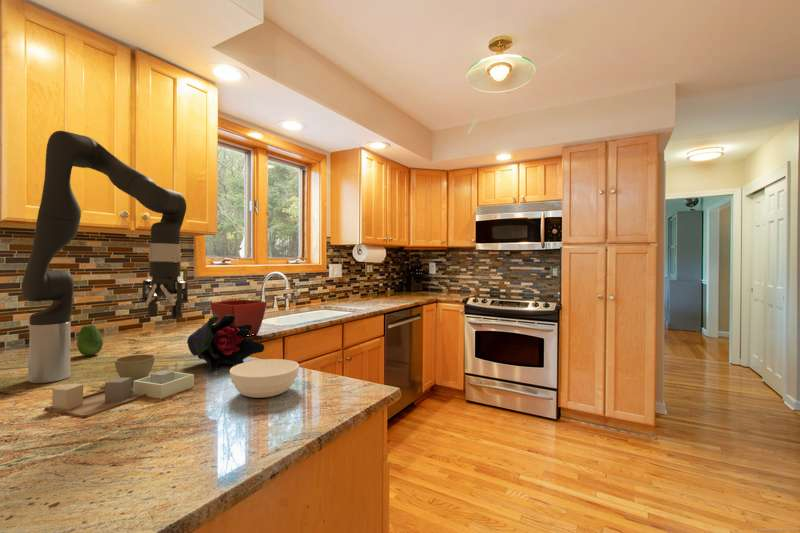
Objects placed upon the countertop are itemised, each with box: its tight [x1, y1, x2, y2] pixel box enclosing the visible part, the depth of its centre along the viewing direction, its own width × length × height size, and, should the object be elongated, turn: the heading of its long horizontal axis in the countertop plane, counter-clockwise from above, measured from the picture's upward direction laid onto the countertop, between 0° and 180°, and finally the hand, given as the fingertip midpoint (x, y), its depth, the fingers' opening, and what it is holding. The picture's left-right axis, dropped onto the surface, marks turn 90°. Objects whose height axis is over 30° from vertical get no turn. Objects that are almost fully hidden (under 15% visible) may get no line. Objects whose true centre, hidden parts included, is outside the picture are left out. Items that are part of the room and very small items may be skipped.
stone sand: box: [51, 383, 84, 410], centre depth 92 cm, size 4×4×5 cm
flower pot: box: [114, 353, 156, 384], centre depth 114 cm, size 10×10×7 cm
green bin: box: [132, 371, 195, 400], centre depth 105 cm, size 10×10×4 cm
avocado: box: [76, 323, 104, 357], centre depth 144 cm, size 8×8×12 cm
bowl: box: [229, 358, 300, 399], centre depth 105 cm, size 18×18×7 cm
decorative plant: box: [186, 314, 265, 372], centre depth 130 cm, size 21×26×30 cm
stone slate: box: [149, 369, 175, 384], centre depth 104 cm, size 4×4×5 cm
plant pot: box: [210, 299, 267, 335], centre depth 186 cm, size 19×19×17 cm
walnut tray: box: [44, 389, 148, 419], centre depth 95 cm, size 14×16×1 cm
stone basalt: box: [104, 377, 133, 402], centre depth 97 cm, size 4×4×5 cm
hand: (164, 317), depth 106 cm, fingers open, 8 cm apart
